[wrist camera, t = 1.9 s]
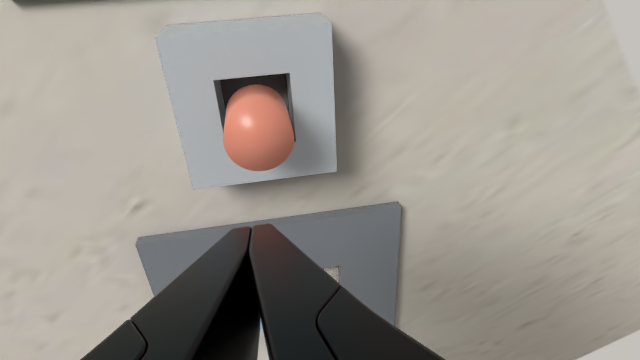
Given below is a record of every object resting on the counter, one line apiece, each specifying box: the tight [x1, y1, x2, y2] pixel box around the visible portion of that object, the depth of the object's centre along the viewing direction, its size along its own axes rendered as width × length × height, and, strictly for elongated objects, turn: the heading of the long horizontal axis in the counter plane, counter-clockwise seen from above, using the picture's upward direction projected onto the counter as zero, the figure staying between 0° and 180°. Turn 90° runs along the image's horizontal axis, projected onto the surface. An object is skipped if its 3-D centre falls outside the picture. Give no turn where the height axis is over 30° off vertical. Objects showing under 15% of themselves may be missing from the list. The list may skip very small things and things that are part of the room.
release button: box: [223, 84, 294, 171], centre depth 15 cm, size 2×2×2 cm
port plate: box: [136, 202, 401, 325], centre depth 25 cm, size 14×14×1 cm
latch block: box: [155, 13, 337, 190], centre depth 17 cm, size 6×6×2 cm
